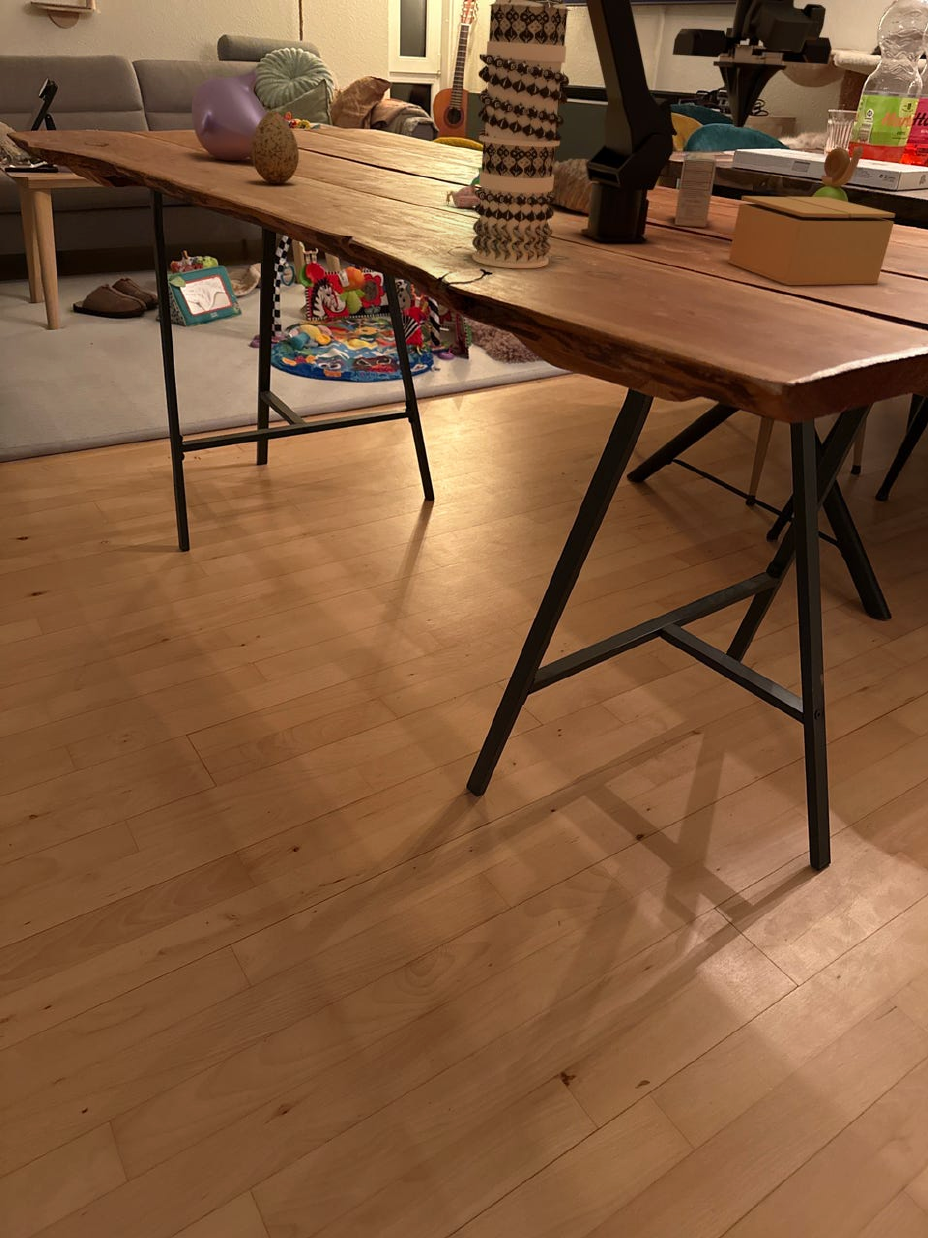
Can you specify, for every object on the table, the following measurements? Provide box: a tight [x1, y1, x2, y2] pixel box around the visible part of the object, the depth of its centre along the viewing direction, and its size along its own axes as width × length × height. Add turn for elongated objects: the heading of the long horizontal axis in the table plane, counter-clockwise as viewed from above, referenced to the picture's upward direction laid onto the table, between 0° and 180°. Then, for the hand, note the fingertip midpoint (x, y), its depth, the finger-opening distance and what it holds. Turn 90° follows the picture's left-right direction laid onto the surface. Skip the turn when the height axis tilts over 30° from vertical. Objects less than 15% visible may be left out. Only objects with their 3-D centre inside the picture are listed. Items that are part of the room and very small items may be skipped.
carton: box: [728, 196, 896, 286], centre depth 104 cm, size 12×12×7 cm
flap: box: [741, 195, 849, 218], centre depth 102 cm, size 6×12×1 cm, turn 18°
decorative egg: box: [251, 110, 300, 185], centre depth 143 cm, size 7×7×10 cm
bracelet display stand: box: [471, 0, 572, 269], centre depth 97 cm, size 9×9×25 cm
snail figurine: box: [811, 137, 868, 202], centre depth 136 cm, size 5×6×12 cm
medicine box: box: [674, 153, 717, 229], centre depth 132 cm, size 8×4×9 cm, turn 168°
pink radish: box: [445, 166, 482, 209], centre depth 131 cm, size 6×6×15 cm
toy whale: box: [191, 70, 289, 162], centre depth 163 cm, size 14×25×16 cm, turn 46°
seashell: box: [551, 157, 599, 215], centre depth 137 cm, size 14×9×10 cm
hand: (738, 126), depth 118 cm, fingers closed
